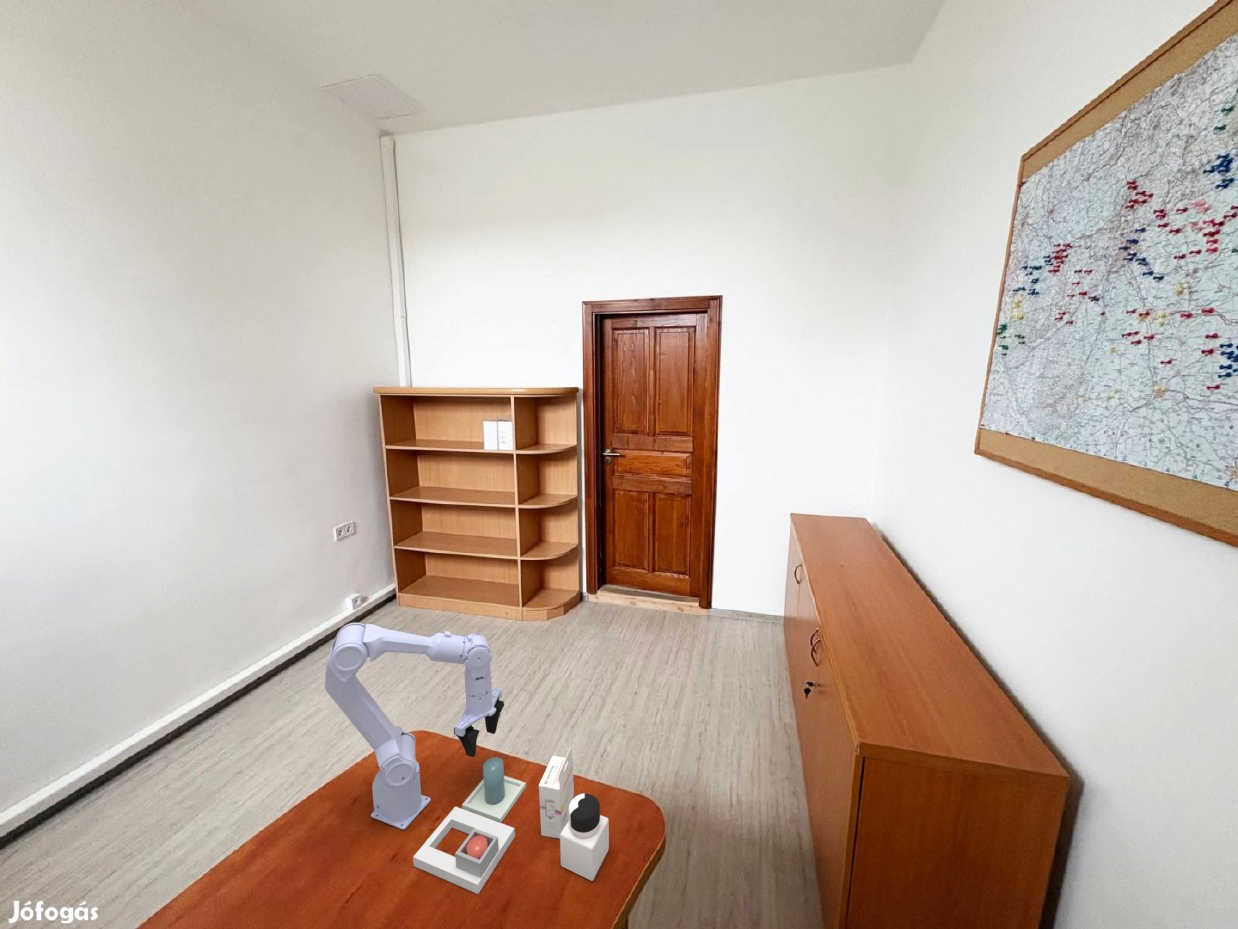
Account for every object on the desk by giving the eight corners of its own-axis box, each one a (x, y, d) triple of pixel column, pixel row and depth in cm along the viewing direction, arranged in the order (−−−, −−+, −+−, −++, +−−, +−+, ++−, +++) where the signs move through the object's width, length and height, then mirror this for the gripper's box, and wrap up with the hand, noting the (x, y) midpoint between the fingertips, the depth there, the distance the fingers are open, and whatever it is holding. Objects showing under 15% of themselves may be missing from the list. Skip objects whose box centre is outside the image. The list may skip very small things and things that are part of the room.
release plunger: (463, 863, 88) (462, 850, 87) (475, 845, 91) (475, 833, 91) (479, 870, 86) (479, 857, 86) (492, 852, 90) (491, 839, 90)
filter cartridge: (480, 802, 103) (478, 769, 102) (492, 786, 108) (490, 755, 107) (497, 807, 102) (495, 774, 101) (508, 791, 106) (507, 760, 105)
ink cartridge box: (553, 801, 104) (551, 742, 102) (574, 805, 103) (573, 745, 101) (539, 836, 96) (537, 772, 94) (562, 840, 95) (560, 776, 93)
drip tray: (462, 809, 102) (462, 804, 102) (489, 775, 111) (489, 771, 111) (500, 823, 99) (500, 818, 98) (525, 787, 108) (525, 782, 108)
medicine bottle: (609, 849, 93) (609, 795, 91) (592, 882, 86) (591, 825, 85) (578, 835, 96) (577, 783, 94) (560, 866, 89) (558, 811, 88)
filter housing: (413, 866, 90) (412, 843, 89) (455, 814, 101) (454, 794, 100) (478, 894, 84) (476, 870, 84) (514, 836, 96) (513, 815, 95)
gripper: (472, 713, 98) (475, 771, 99) (511, 675, 111) (513, 727, 113) (445, 705, 100) (449, 762, 102) (486, 669, 114) (489, 720, 115)
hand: (481, 743), depth 108 cm, fingers open, 7 cm apart
